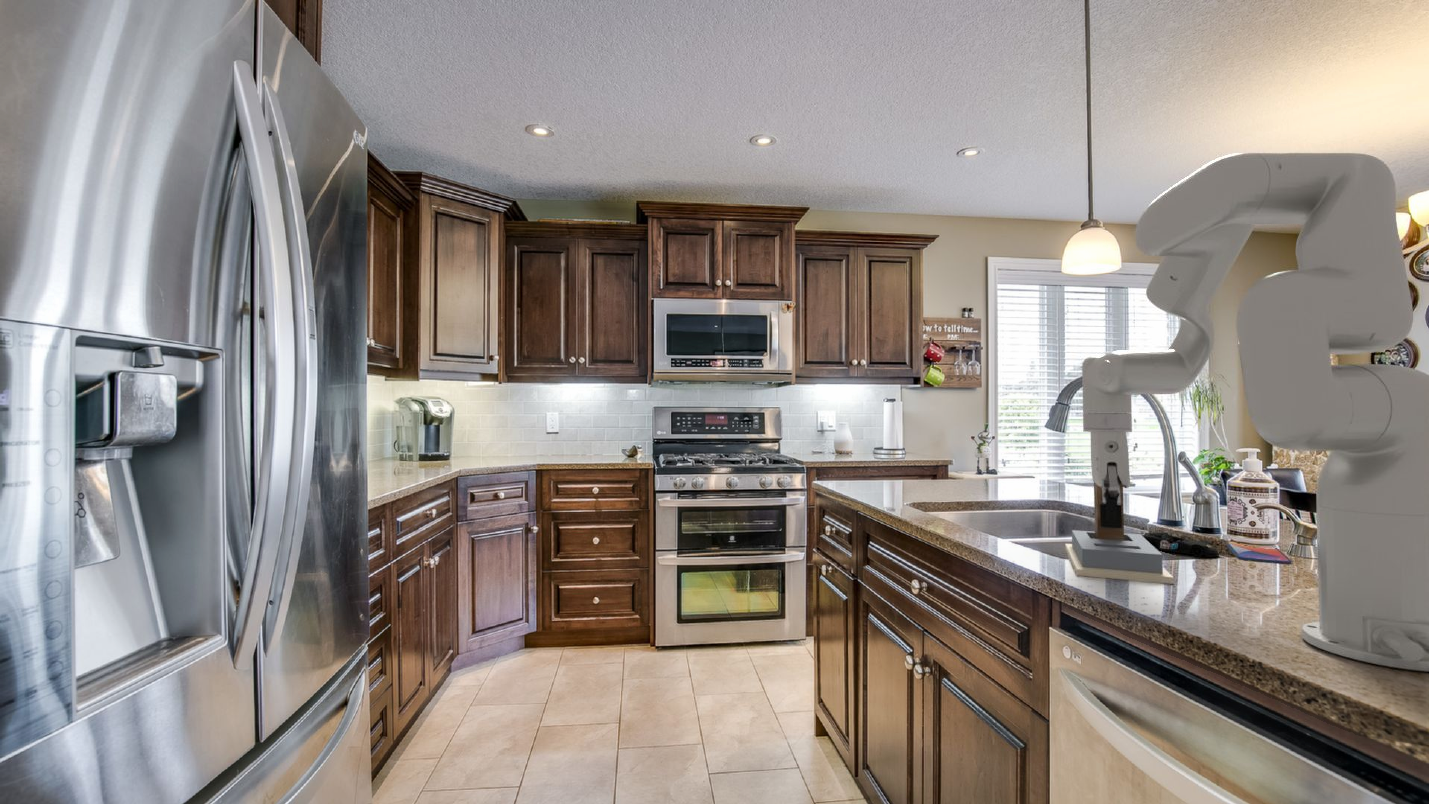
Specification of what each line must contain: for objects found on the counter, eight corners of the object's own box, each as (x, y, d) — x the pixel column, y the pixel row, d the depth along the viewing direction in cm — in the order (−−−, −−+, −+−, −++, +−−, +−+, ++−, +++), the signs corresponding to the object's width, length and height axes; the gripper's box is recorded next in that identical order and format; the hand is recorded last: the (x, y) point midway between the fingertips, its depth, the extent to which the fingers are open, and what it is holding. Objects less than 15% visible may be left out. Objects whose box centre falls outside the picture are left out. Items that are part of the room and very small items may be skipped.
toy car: (1223, 560, 114) (1222, 537, 114) (1142, 554, 119) (1142, 531, 119) (1213, 551, 121) (1213, 529, 121) (1138, 545, 127) (1137, 524, 127)
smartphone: (1238, 562, 113) (1238, 556, 113) (1224, 545, 126) (1224, 540, 126) (1293, 568, 110) (1293, 561, 110) (1273, 550, 122) (1273, 544, 122)
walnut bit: (1124, 551, 112) (1122, 483, 112) (1097, 549, 114) (1096, 482, 114) (1120, 547, 115) (1119, 481, 116) (1095, 545, 117) (1093, 480, 117)
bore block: (1173, 583, 98) (1173, 557, 98) (1076, 575, 103) (1076, 550, 103) (1145, 554, 118) (1144, 532, 118) (1065, 548, 123) (1065, 528, 123)
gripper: (1140, 424, 106) (1142, 534, 105) (1123, 423, 121) (1125, 519, 121) (1088, 424, 109) (1090, 531, 109) (1078, 423, 124) (1080, 516, 124)
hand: (1108, 523), depth 115 cm, fingers open, 4 cm apart
